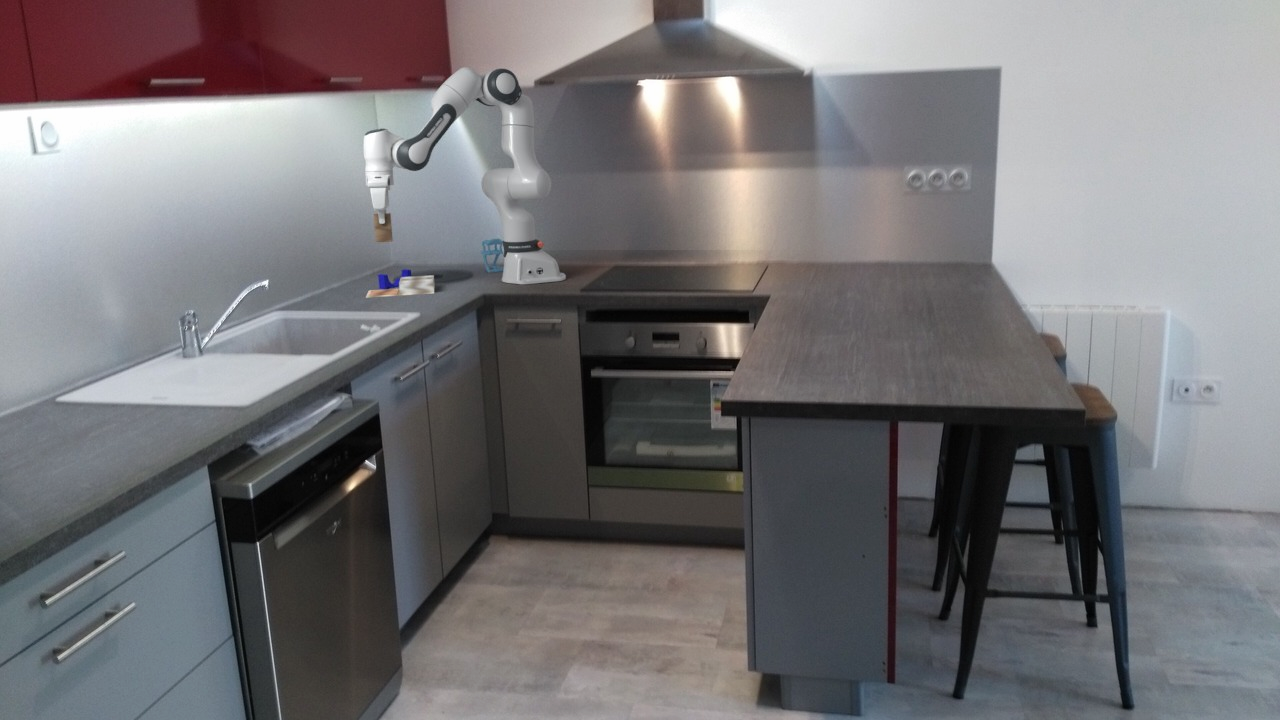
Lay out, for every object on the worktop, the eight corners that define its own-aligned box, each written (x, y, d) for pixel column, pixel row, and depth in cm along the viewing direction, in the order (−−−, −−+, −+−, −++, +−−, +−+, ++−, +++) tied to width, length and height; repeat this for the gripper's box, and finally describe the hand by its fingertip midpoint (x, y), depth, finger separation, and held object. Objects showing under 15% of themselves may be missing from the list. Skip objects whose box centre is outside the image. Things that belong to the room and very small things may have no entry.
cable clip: (403, 285, 372) (402, 268, 371) (412, 286, 370) (410, 269, 368) (376, 291, 363) (375, 274, 362) (385, 292, 360) (384, 275, 359)
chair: (499, 267, 403) (496, 236, 400) (507, 270, 396) (505, 238, 393) (480, 270, 399) (477, 238, 396) (488, 272, 392) (486, 240, 389)
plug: (392, 240, 352) (390, 213, 350) (391, 241, 349) (389, 214, 347) (376, 241, 351) (374, 213, 349) (375, 242, 348) (373, 214, 346)
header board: (435, 289, 363) (433, 274, 362) (434, 296, 350) (433, 281, 349) (369, 293, 360) (367, 278, 358) (365, 300, 347) (364, 285, 346)
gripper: (372, 178, 355) (375, 220, 358) (367, 182, 335) (370, 226, 338) (391, 178, 356) (394, 219, 359) (387, 181, 336) (390, 225, 339)
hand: (382, 222), depth 348 cm, fingers closed on plug, 3 cm apart
